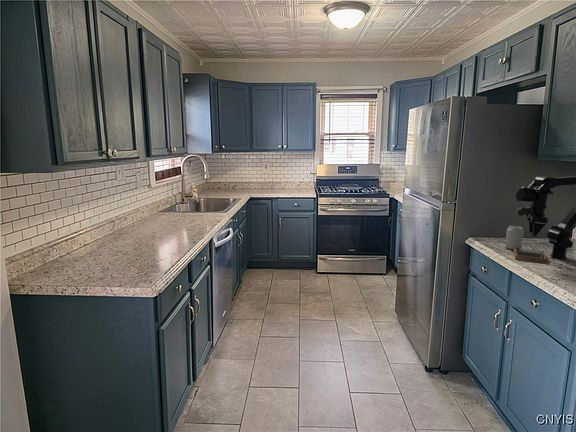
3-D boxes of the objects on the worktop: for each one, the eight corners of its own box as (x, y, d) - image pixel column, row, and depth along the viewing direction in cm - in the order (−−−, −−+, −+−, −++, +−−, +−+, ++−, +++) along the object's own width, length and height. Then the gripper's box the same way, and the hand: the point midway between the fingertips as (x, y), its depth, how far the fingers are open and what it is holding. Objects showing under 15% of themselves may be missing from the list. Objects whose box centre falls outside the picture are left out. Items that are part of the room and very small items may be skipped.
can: (524, 250, 193) (527, 228, 191) (510, 250, 193) (513, 228, 191) (515, 246, 201) (518, 225, 198) (501, 246, 201) (504, 225, 198)
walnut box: (513, 251, 192) (514, 247, 191) (542, 255, 186) (543, 251, 185) (515, 259, 179) (515, 255, 179) (546, 263, 173) (547, 259, 173)
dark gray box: (518, 255, 187) (519, 248, 186) (539, 257, 182) (540, 251, 182) (518, 257, 183) (519, 250, 182) (540, 260, 178) (541, 253, 177)
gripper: (516, 198, 188) (510, 228, 191) (523, 202, 171) (516, 235, 174) (542, 201, 183) (535, 231, 186) (551, 206, 167) (544, 239, 170)
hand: (532, 234), depth 179 cm, fingers open, 9 cm apart
